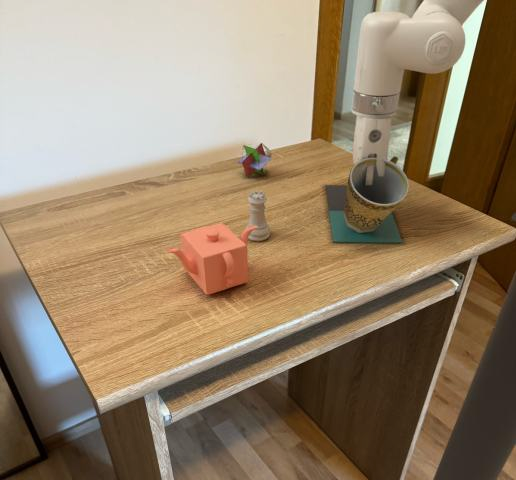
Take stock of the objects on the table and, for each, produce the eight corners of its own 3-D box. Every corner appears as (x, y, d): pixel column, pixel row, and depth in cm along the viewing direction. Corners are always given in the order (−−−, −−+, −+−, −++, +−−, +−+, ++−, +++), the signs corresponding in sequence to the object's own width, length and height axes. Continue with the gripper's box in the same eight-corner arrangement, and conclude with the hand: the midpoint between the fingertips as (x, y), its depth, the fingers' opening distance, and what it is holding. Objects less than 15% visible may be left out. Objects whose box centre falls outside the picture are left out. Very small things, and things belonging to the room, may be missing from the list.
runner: (382, 186, 103) (382, 185, 103) (402, 243, 85) (402, 242, 85) (325, 186, 104) (325, 185, 104) (333, 242, 86) (333, 241, 86)
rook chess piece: (270, 230, 90) (270, 188, 84) (270, 242, 86) (270, 199, 81) (246, 230, 90) (244, 188, 84) (245, 242, 86) (243, 199, 81)
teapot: (158, 274, 79) (150, 227, 73) (240, 250, 84) (238, 204, 79) (187, 312, 71) (181, 263, 66) (275, 283, 77) (276, 235, 71)
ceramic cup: (373, 250, 86) (393, 215, 77) (324, 222, 88) (338, 185, 79) (403, 203, 91) (426, 165, 82) (357, 177, 93) (374, 137, 83)
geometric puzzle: (248, 176, 103) (264, 139, 101) (226, 167, 107) (241, 132, 105) (267, 187, 109) (282, 153, 107) (245, 179, 112) (259, 145, 111)
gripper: (406, 116, 75) (386, 225, 87) (390, 90, 86) (374, 190, 98) (357, 116, 75) (343, 224, 87) (347, 90, 86) (337, 189, 98)
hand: (360, 206), depth 93 cm, fingers closed
